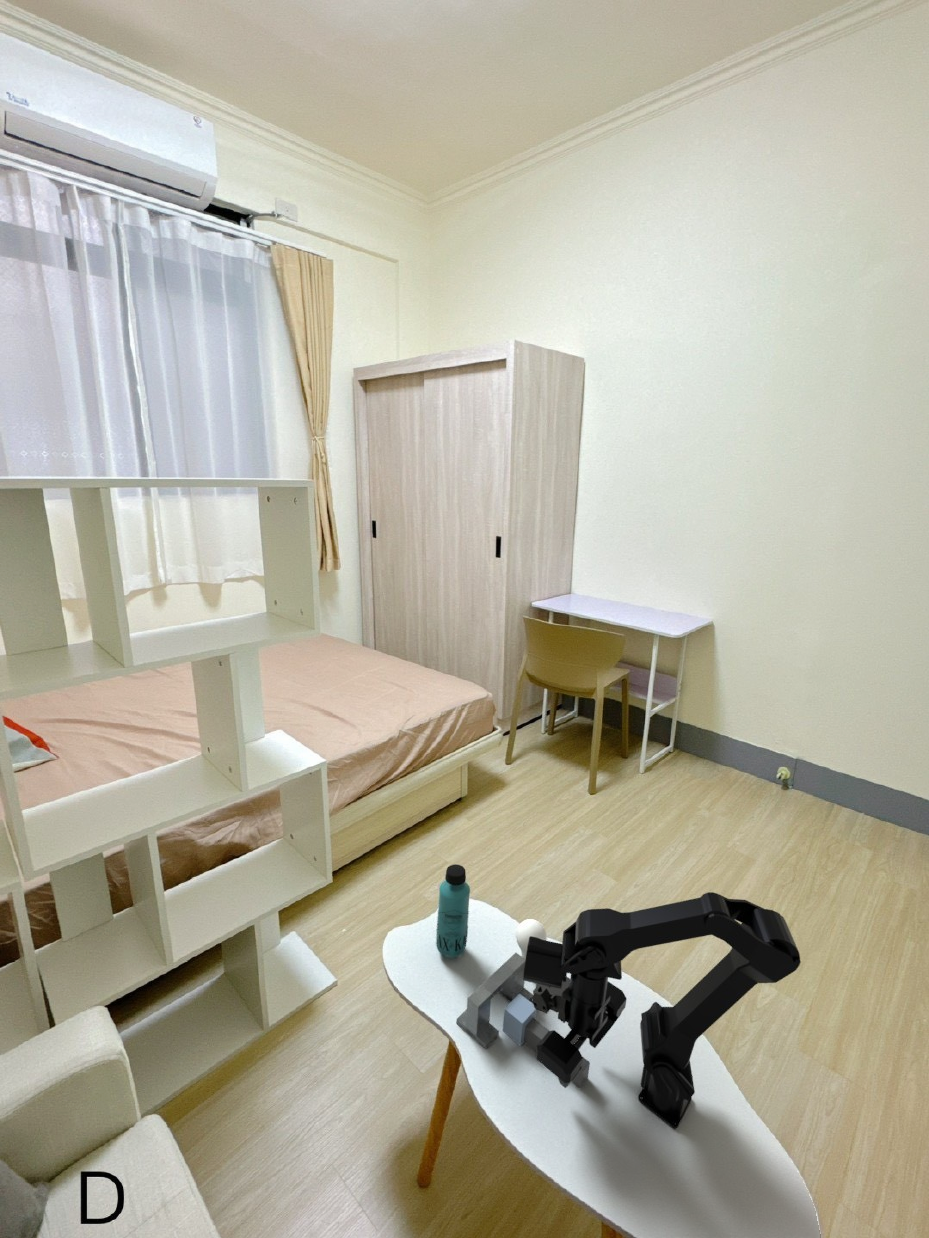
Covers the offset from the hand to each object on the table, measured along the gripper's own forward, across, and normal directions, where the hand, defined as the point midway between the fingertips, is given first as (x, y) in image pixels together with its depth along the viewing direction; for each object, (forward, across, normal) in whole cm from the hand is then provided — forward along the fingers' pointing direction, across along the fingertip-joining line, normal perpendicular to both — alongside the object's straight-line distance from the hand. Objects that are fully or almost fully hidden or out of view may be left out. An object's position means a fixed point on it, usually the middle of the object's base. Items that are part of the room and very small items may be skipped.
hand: (578, 1064), depth 96 cm
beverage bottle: (+3, -4, -33) cm, 33 cm away
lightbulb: (+3, -12, -19) cm, 22 cm away
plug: (+3, 0, -7) cm, 7 cm away
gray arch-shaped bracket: (+3, 0, -18) cm, 18 cm away
